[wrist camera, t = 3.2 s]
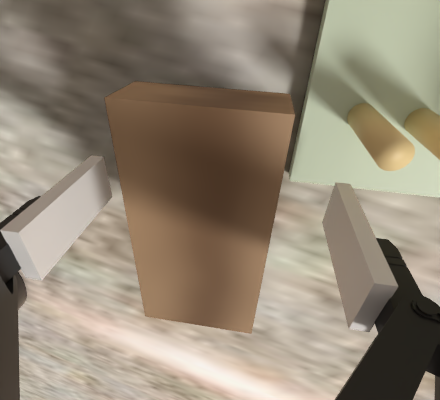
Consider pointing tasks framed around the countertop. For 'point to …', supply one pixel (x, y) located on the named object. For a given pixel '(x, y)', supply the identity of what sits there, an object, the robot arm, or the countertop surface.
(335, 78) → the cabinet
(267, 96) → the shelf board
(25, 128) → the countertop surface
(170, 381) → the countertop surface
